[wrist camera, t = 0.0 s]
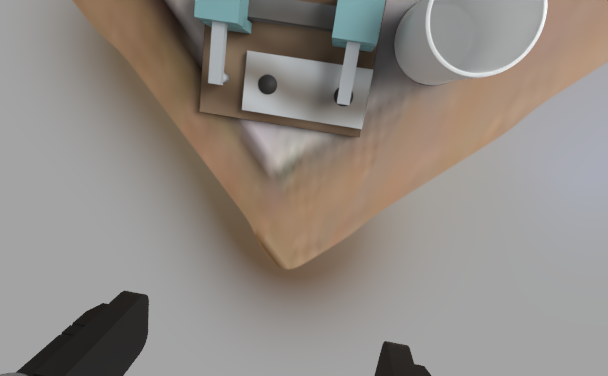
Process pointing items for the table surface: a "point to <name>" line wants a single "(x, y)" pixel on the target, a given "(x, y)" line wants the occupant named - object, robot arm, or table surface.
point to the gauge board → (288, 70)
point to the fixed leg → (355, 36)
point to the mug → (466, 37)
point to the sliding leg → (222, 30)
